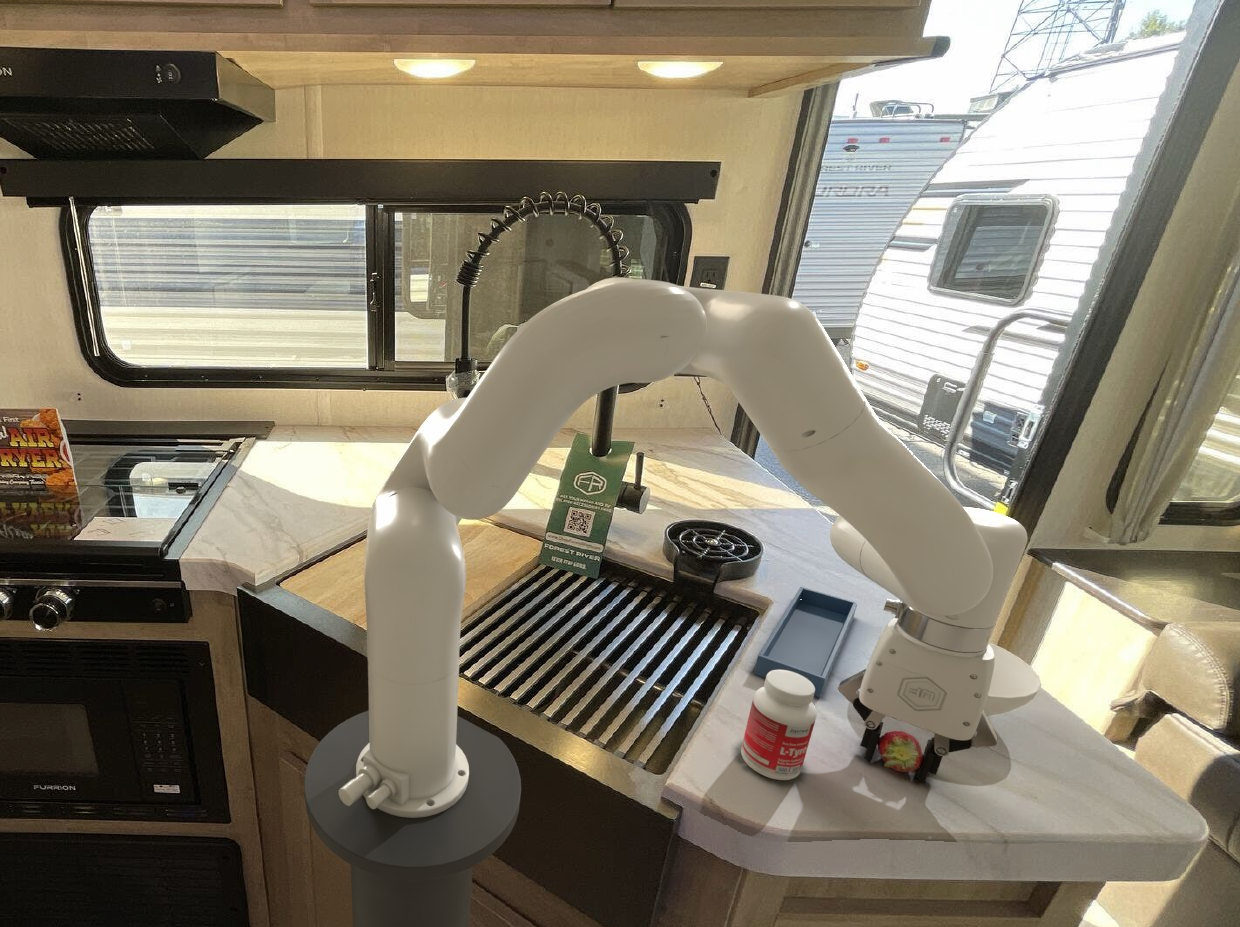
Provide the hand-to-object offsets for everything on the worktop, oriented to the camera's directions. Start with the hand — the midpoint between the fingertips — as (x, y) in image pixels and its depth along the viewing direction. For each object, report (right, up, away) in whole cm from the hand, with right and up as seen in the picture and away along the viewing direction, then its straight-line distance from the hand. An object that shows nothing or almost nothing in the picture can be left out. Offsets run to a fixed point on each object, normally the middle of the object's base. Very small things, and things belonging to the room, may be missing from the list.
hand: (895, 762), depth 75 cm
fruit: (0, -1, 0) cm, 1 cm away
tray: (+4, +8, +23) cm, 25 cm away
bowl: (+13, +3, +10) cm, 17 cm away
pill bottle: (-14, 0, +1) cm, 14 cm away
